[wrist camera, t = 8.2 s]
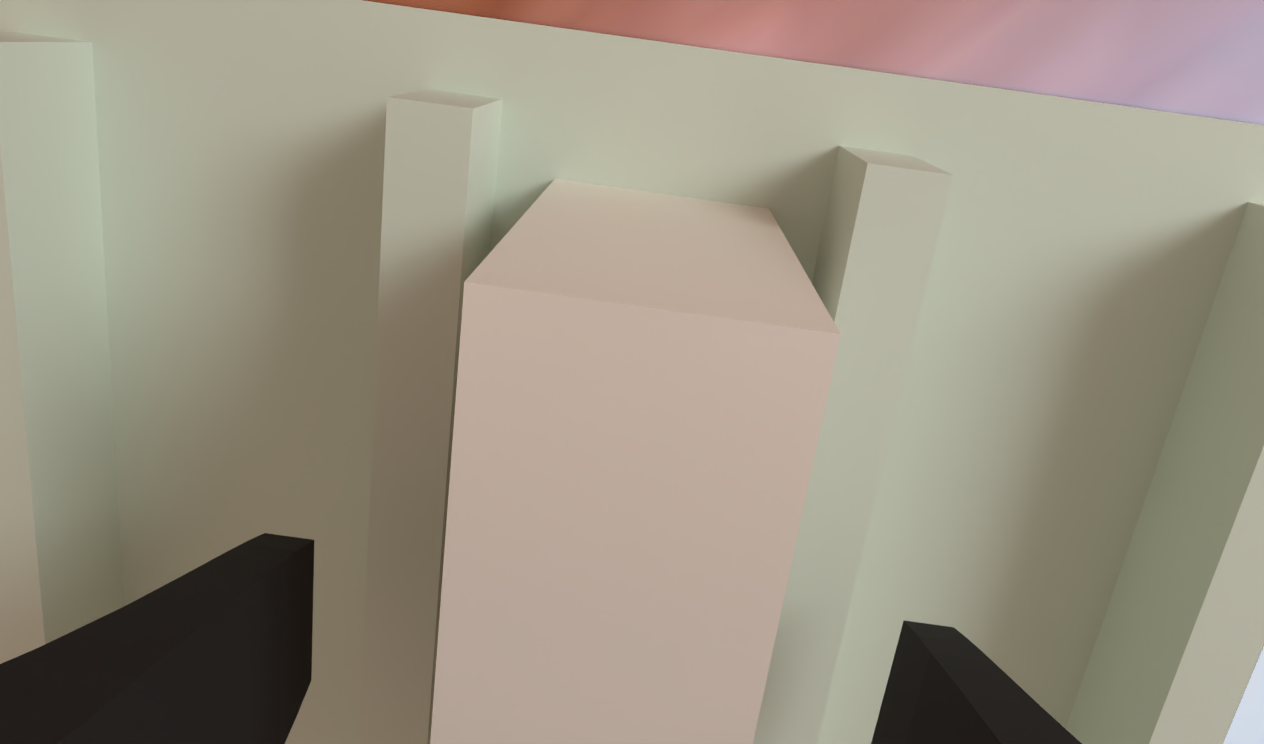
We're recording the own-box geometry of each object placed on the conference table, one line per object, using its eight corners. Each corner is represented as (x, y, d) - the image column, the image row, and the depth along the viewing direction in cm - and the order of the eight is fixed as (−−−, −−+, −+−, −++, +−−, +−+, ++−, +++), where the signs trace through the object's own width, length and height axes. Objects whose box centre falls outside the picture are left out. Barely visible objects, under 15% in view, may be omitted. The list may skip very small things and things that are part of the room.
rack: (1051, 879, 18) (1121, 1035, 15) (95, 749, 18) (-13, 880, 15) (1323, 133, 13) (1495, 157, 11) (37, -45, 13) (-133, -68, 11)
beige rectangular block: (666, 779, 16) (662, 1166, 11) (495, 756, 16) (400, 1131, 11) (768, 208, 13) (840, 334, 7) (554, 178, 13) (464, 282, 7)
